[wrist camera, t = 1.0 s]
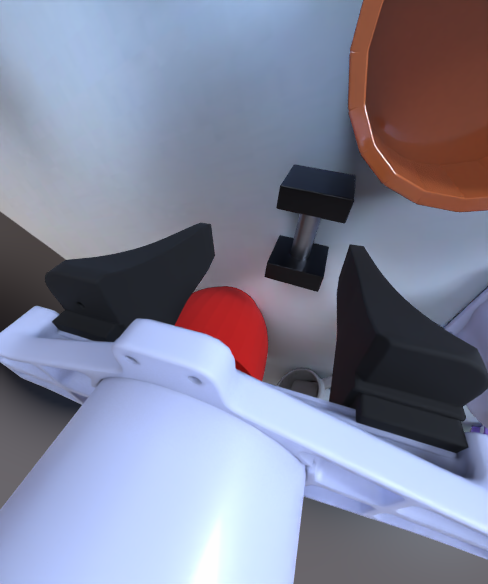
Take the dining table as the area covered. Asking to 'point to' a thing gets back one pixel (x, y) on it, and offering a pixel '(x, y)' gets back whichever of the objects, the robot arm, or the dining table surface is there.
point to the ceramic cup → (230, 325)
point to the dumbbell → (309, 223)
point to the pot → (423, 99)
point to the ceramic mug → (307, 383)
